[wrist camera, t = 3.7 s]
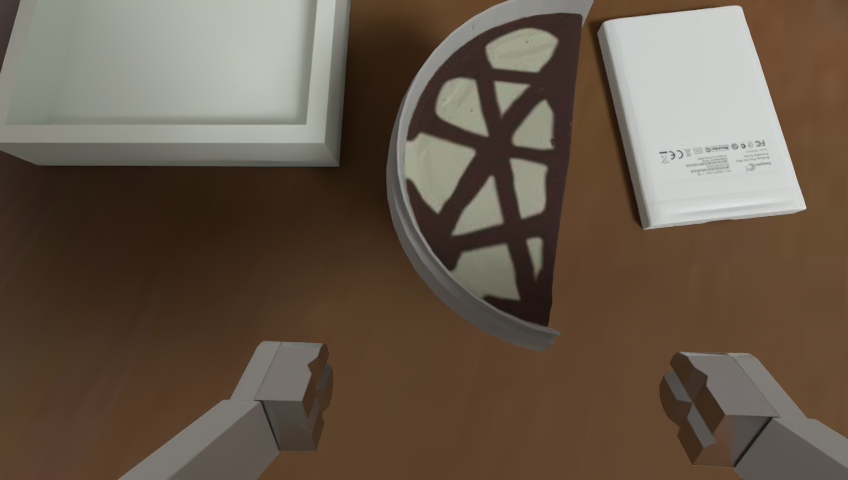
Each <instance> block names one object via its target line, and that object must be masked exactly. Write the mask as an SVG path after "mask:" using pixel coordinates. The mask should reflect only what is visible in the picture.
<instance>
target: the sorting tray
mask: <svg viewBox="0 0 848 480" xmlns="http://www.w3.org/2000/svg"><path fill="white" fill-rule="evenodd" d="M350 3H351V0H21V1H20V4H19V8H18V12H17V15H16V19H15V22H14V26H13V30H12V33H11V37H10V40H9V44H8V48H7V51H6V55H5V58H4V62H3V66H2V69H1V73H0V150H1V151H3V152H6V153H8V154H11V155H13V156H16V157H18V158H21V159H23V160H26V161H28V162H31V163H33V164H36V165H43V166H301V167H339V161H340V147H341V133H342V118H343V104H344V89H345V75H346V60H347V46H348V32H349V17H350Z"/></svg>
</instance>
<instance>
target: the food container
mask: <svg viewBox="0 0 848 480" xmlns="http://www.w3.org/2000/svg"><path fill="white" fill-rule="evenodd" d="M593 1H594V0H509V1H506V2H503V3H501V4H498V5H495V6H493V7H491V8H489V9H487V10H486V11H484V12H482V13H480V14H478V15H476V16H474V17H473V18H471V19H470V20H468V21H467V22H466V23H464V24H463V25H462V26H460V27H459V28H458V29H456V30H455V31H454V32H452V33H451V34H450V35H449V36H448V37H447V38H446V39H445V40H444V41H443V42H442V43H441V44H440V45H439V46H438V47H437V48H436V49H435V50H434V51H433V53H432V54H431V55H430V57H429V58H428V59H427V61H426V62H425V63H424V65H423V66H422V67H421V69H420V70H419V72H418V73H417V74H416V76H415V77H414V79H413V80H412V82H411V84H410V86H409V88H408V90H407V92H406V94H405V96H404V98H403V100H402V102H401V104H400V107H399V111H398V114H397V117H396V120H395V124H394V127H393V131H392V136H391V140H390V145H389V152H388V160H387V168H386V180H387V199H388V203H389V208H390V213H391V217H392V222H393V225H394V228H395V230H396V233H397V235H398V238H399V240H400V243H401V246H402V248H403V250H404V252H405V253H406V255H407V257H408V258H409V260H410V262H411V264H412V265H413V267H414V269H415V270H416V272H417V273H418V275H419V276H420V277H421V278H422V279H423V281H424V282H425V283H426V284H427V285H428V287H429V288H430V289H431V290H432V291H433V293H434V294H435V295H436V296H437V297H438V298H439V299H440V300H442V301H443V302H444V303H445V304H446V305H447V306H448V307H450V308H451V309H452V310H453V311H454V312H455V313H456V314H458V315H459V316H460V317H462V318H464V319H465V320H467V321H468V322H470V323H471V324H473V325H475V326H476V327H478V328H479V329H481V330H482V331H484V332H486V333H489V334H491V335H493V336H495V337H498V338H500V339H502V340H504V341H507V342H509V343H511V344H514V345H518V346H522V347H526V348H529V349H533V350H537V351H541V350H543V349H545V348H547V347H549V346H551V345H553V337H554V336H561V333H560V332H558V331H556V330H553V329H551V328H549V327H548V323H549V316H550V309H551V305H552V283H553V272H554V264H555V256H556V248H557V240H558V232H559V225H560V217H561V210H562V203H563V196H564V189H565V183H566V176H567V170H568V163H569V156H570V146H571V131H572V116H573V105H574V94H575V84H576V75H577V66H578V58H579V49H580V39H581V30H582V26H583V24H584V22H585V19H586V17H587V15H588V12H589V10H590V8H591V5H592V3H593Z"/></svg>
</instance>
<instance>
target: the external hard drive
mask: <svg viewBox="0 0 848 480" xmlns="http://www.w3.org/2000/svg"><path fill="white" fill-rule="evenodd" d="M597 35H598V39H599V43H600V48H601V52H602V56H603V60H604V65H605V69H606V73H607V77H608V82H609V86H610V90H611V95H612V99H613V103H614V108H615V112H616V116H617V120H618V125H619V129H620V133H621V137H622V142H623V146H624V151H625V155H626V159H627V164H628V168H629V172H630V176H631V181H632V185H633V189H634V194H635V198H636V202H637V206H638V211H639V215H640V220H641V224H642V228H643V229H652V228H661V227H670V226H679V225H689V224H697V223H705V222H708V221H715V220H725V219H732V220H734V219H744V218H753V217H762V216H772V215H781V214H790V213H796V212H799V211H802V210H805V209H806V205H805V202H804V199H803V196H802V193H801V190H800V187H799V185H798V181H797V178H796V175H795V172H794V168H793V165H792V162H791V159H790V156H789V153H788V150H787V146H786V143H785V140H784V137H783V134H782V131H781V128H780V125H779V122H778V118H777V115H776V113H775V109H774V106H773V103H772V100H771V97H770V93H769V90H768V87H767V84H766V81H765V78H764V75H763V72H762V68H761V65H760V62H759V59H758V56H757V53H756V50H755V47H754V44H753V41H752V38H751V35H750V32H749V29H748V26H747V23H746V20H745V17H744V14H743V10H742V8H741V7H740V6H726V7H717V8H708V9H699V10H691V11H682V12H673V13H662V14H654V15H646V16H638V17H626V18H618V19H614V20H609V21H605V22H604V23H603V24H602V25H601V27H600V29H599V31H598V32H597Z"/></svg>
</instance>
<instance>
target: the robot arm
mask: <svg viewBox="0 0 848 480" xmlns="http://www.w3.org/2000/svg"><path fill="white" fill-rule="evenodd" d="M328 356H329V352H328V348H327V345H326V344H321V343H301V342H276V341H263V342H262V343H261V344H259V345H258V346H257V348H256V350H255V352H254V354H253V356H252V358H251V360H250V362H249V364H248V365H247V367H246V369H245V371H244V373H243V375H242V377H241V379H240V381H239V383H238V385H237V386H236V388H235V390H234V392H233V394H232V396H231V398H230V400H222V401H221V402H220V403H218V404H217V405H216V406H214V407H213V408H212V409H210V410H209V411H208V412H206V413H205V414H204V415H202V416H201V417H200V418H198V419H197V420H196V421H195V422H193V423H192V424H191V425H189V426H188V427H187V428H185V429H184V430H183V431H181V432H180V433H179V434H177V435H176V436H175V437H173V438H172V439H171V440H169V441H168V442H167V443H166V444H164V445H163V446H162V447H160V448H159V449H158V450H156V451H155V452H154V453H152V454H151V455H150V456H148V457H147V458H146V459H144V460H143V461H142V462H140V463H139V464H138V465H137V466H135V467H134V468H133V469H131V470H130V471H129V472H127V473H126V474H125V475H123V476H122V477H121V478H119V479H118V480H256V479H257V478H258V477H259V476H260V475H261V473H262V472H263V471H264V470H265V469H266V468H267V467H268V466H269V464H270V463H271V462H272V461H273V460H274V459H275V458H276V457H277V455H278V454H279V453H280V452H279V451H316V450H317V447H318V443H319V440H320V436H321V433H322V429H323V426H324V421H323V417H322V412H323V411H324V410H325V409H326V408H327V407H329V404H330V400H331V396H332V389H333V371H332V366H330V365H329V364H328V363H327V359H328ZM670 365H671V366H672V368H673V370H672V371H670V372H669V373H667V374H666V375H664V376H663V379H662V381H661V384H660V399H661V403H662V406H663V409H664V411H665V413H666V415H667V417H668V418H669V419H671V420H672V421H673V422H674V423H676V424H677V425H678V426H679V431H678V435H677V436H678V438H679V440H680V442H681V444H682V446H683V448H684V450H685V452H686V453H687V455H688V457H689V459H690V461H691V463H692V465H697V466H712V467H728V468H734V471H735V472H736V473H737V474H738V475H739V476H740V477H741V478H742V479H744V480H848V439H847V438H845V437H843V436H842V435H840V434H838V433H837V432H835V431H834V430H832V429H830V428H829V427H827V426H826V425H824V424H822V423H821V422H819V421H817V420H816V419H807V418H806V416H805V415H804V414H803V413H802V412H801V410H800V409H799V408H798V407H797V406H796V404H795V403H794V402H793V401H792V400H791V398H790V397H789V396H788V395H787V394H786V393H785V391H784V390H783V389H782V388H781V387H780V385H779V384H778V383H777V382H776V381H775V379H774V378H773V377H772V376H771V375H770V373H769V372H768V371H767V370H766V369H765V368H764V366H763V365H762V364H761V363H760V362H759V360H758V359H757V358H756V357H754V356H753V355H751V354H749V353H715V352H678V353H676V354H675V355H673V357H672V359H671V361H670Z"/></svg>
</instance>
